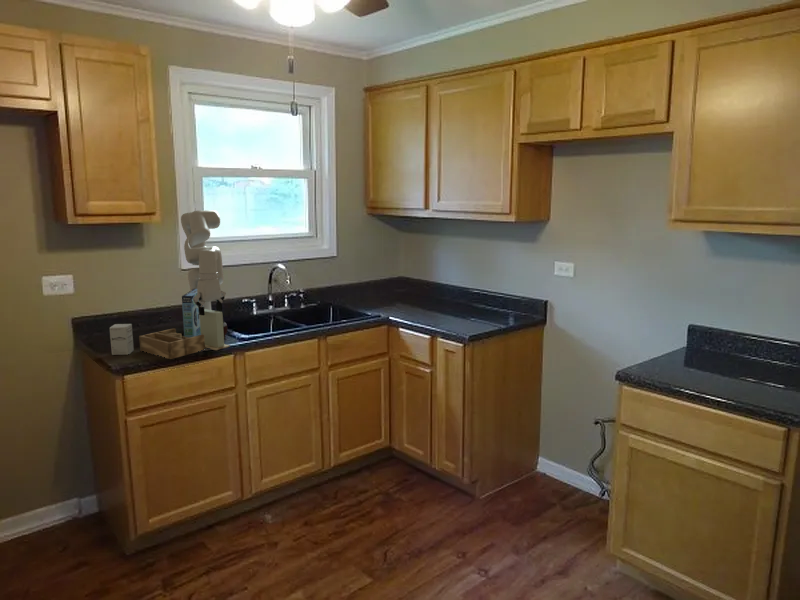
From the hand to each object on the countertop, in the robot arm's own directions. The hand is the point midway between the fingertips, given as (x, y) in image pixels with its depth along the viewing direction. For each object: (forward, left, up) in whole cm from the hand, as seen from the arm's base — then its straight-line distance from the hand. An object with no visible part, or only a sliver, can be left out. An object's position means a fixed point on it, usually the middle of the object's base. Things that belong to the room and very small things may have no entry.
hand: (210, 313), depth 272 cm
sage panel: (0, 0, -15) cm, 15 cm away
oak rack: (+15, -8, -16) cm, 24 cm away
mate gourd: (-10, -8, -16) cm, 21 cm away
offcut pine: (+12, -13, -13) cm, 21 cm away
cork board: (0, +1, -16) cm, 16 cm away
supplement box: (+30, -23, -16) cm, 42 cm away
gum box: (-5, -19, -16) cm, 26 cm away
